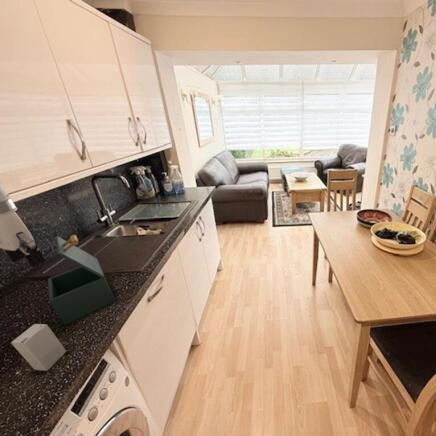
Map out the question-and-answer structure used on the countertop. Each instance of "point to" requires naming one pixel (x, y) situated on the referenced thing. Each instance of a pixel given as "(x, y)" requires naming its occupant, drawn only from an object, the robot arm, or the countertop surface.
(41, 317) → the countertop surface
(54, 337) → the cosmetic box
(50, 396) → the countertop surface
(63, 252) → the lid
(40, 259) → the robot arm
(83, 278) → the chest
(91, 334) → the countertop surface
